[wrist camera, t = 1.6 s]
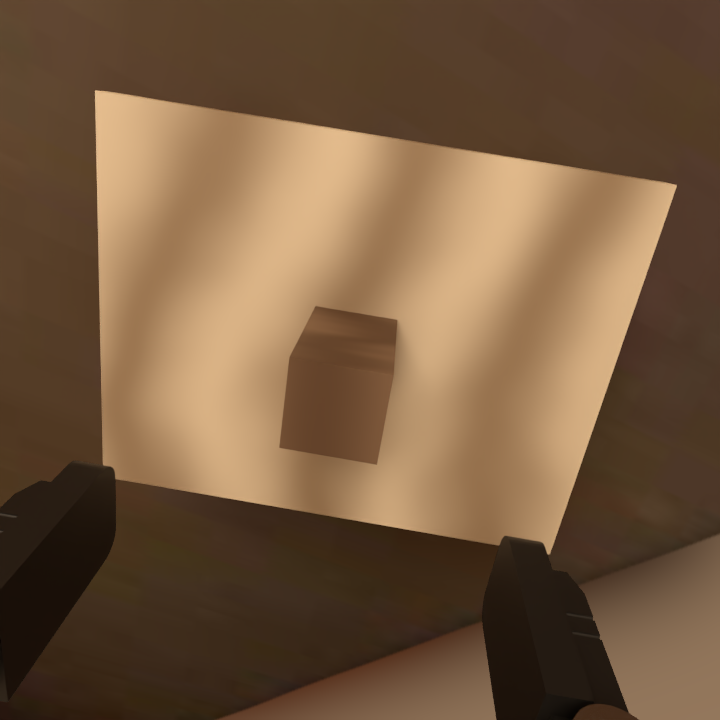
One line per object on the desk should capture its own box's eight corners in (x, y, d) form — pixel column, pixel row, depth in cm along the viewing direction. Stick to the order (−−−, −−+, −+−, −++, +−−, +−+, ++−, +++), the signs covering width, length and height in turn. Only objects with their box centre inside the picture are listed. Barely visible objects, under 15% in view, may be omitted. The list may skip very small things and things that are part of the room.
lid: (664, 182, 20) (762, 206, 14) (544, 538, 26) (581, 654, 20) (109, 91, 20) (-5, 81, 15) (114, 463, 26) (33, 557, 20)
